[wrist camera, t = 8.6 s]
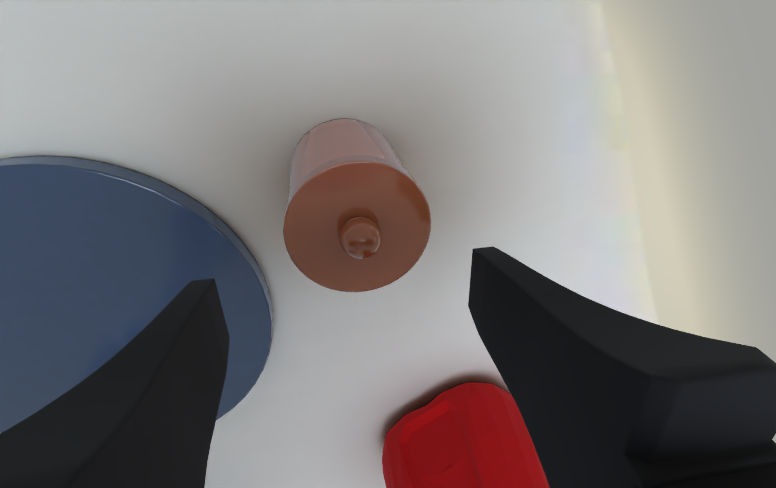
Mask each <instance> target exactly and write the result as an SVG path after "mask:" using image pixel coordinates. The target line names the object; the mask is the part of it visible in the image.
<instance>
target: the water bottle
mask: <svg viewBox="0 0 776 488" xmlns="http://www.w3.org/2000/svg"><path fill="white" fill-rule="evenodd" d="M382 465H383V474H384V479H385V483H386V487H387V488H550V487H549V484H548V481H547V478H546V476H545V473H544V470H543V468H542V465H541V463H540V460H539V457H538V455H537V452H536V450H535V447H534V445H533V442H532V439H531V437H530V435H529V432H528V430H527V427H526V425H525V423H524V420H523V418H522V415H521V413H520V411H519V408H518V406H517V404H516V402H515V400H514V398H513V397H512V396H511V394H510V393H509V392H507V391H505V390H503V389H501V388H499V387H497V386H495V385H494V384H491V383H472V382H471V383H463V384H460V385H458V386H456V387H453V388H451V389H449V390H446V391H444V392H442V393H440V394H439V395H438V396H437V397H436V398H435V399H434V400H432V401H431V402H430V403H429V404H428V405H426V406H423V407H421V408H419V409H417V410H415V411H412V412H410V413H408V414H406V415H404V416H403V417H402V418H401V419H400V420H399V421H398V422H397V423H396V424H395V425H394V426H393V427H392V428H391V429H390V430H389V431H388V433H387V434H386V437H385V442H384V447H383V456H382Z"/></svg>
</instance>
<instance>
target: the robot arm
mask: <svg viewBox="0 0 776 488" xmlns="http://www.w3.org/2000/svg"><path fill="white" fill-rule="evenodd" d="M468 306H469V309H470V312H471V315H472V318H473V320H474V323H475V326H476V328H477V331H478V333H479V335H480V337H481V339H482V341H483V343H484V345H485V347H486V349H487V351H488V352H489V354H490V356H491V358H492V360H493V362H494V363H495V365H496V367H497V369H498V371H499V373H500V374H501V376H502V378H503V380H504V382H505V383H506V385H507V387H508V389H509V391H510V393H511V394H512V396H513V398H514V400H515V402H516V404H517V406H518V408H519V411H520V413H521V415H522V418H523V420H524V423H525V425H526V427H527V430H528V432H529V435H530V437H531V439H532V442H533V445H534V447H535V450H536V452H537V455H538V457H539V460H540V463H541V465H542V468H543V470H544V473H545V476H546V478H547V481H548V484H549V487H550V488H776V443H775V442H774V441H773V440H772V439H773V437H774V435H775V434H776V363H775V362H774V361H772V360H771V359H770V358H769V357H768V356H766V355H765V354H764V353H763V352H761V351H760V350H759V349H757V348H756V347H751V346H746V345H741V344H736V343H730V342H726V341H721V340H716V339H710V338H706V337H702V336H697V335H694V334H690V333H686V332H682V331H678V330H674V329H670V328H667V327H664V326H660V325H657V324H654V323H651V322H648V321H645V320H642V319H639V318H636V317H633V316H630V315H627V314H624V313H621V312H619V311H616V310H614V309H611V308H609V307H606V306H604V305H602V304H599V303H597V302H594V301H592V300H590V299H588V298H585V297H583V296H581V295H579V294H577V293H575V292H573V291H571V290H569V289H567V288H565V287H563V286H561V285H559V284H558V283H556V282H554V281H552V280H550V279H548V278H547V277H545V276H543V275H541V274H540V273H538V272H536V271H534V270H533V269H531V268H529V267H528V266H526V265H524V264H523V263H521V262H519V261H518V260H516V259H514V258H513V257H511V256H509V255H508V254H506V253H504V252H502V251H501V250H499V249H497V248H495V247H486V248H477V249H473V253H472V265H471V278H470V291H469V303H468ZM229 340H230V336H229V332H228V328H227V324H226V321H225V317H224V313H223V309H222V305H221V301H220V298H219V294H218V290H217V286H216V282H215V278H212V279H203V280H194V281H190V282H189V283H188V284H187V285H186V286H185V287H184V288H183V289H182V290H181V291H180V292H179V293H178V294H177V295H176V296H175V297H174V299H173V300H172V301H171V302H170V303H169V304H168V305H167V306H166V307H165V308H164V309H163V310H162V311H161V312H160V313H159V314H158V315H157V316H156V317H155V318H154V319H153V320H152V321H151V322H150V323H149V324H148V325H147V326H146V327H145V328H144V329H143V330H142V331H141V332H140V333H139V334H138V335H136V336H135V337H134V338H133V339H132V340H131V341H130V342H129V343H128V344H127V345H126V346H124V347H123V348H122V349H121V350H120V351H119V352H118V353H117V354H116V355H114V356H113V357H112V358H111V359H110V360H108V361H107V362H106V363H105V364H104V365H102V366H101V367H100V368H98V369H97V370H96V371H95V372H93V373H92V374H91V375H89V376H88V377H87V378H85V379H84V380H83V381H81V382H80V383H79V384H77V385H76V386H75V387H73V388H72V389H70V390H69V391H67V392H66V393H64V394H63V395H61V396H60V397H58V398H57V399H55V400H54V401H52V402H51V403H49V404H48V405H46V406H45V407H43V408H42V409H40V410H39V411H37V412H36V413H34V414H32V415H31V416H29V417H28V418H26V419H24V420H23V421H21V422H19V423H18V424H16V425H14V426H13V427H11V428H9V429H7V430H6V431H4V432H2V433H0V488H204V485H205V477H206V468H207V460H208V455H209V449H210V444H211V439H212V435H213V431H214V426H215V422H216V417H217V413H218V409H219V404H220V400H221V395H222V391H223V386H224V382H225V377H226V372H227V365H228V354H229Z"/></svg>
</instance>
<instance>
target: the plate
mask: <svg viewBox="0 0 776 488" xmlns="http://www.w3.org/2000/svg"><path fill="white" fill-rule="evenodd" d="M212 278H215V282H216V286H217V290H218V294H219V298H220V301H221V305H222V309H223V313H224V317H225V321H226V324H227V328H228V332H229V336H230V340H229V354H228V365H227V372H226V377H225V382H224V386H223V391H222V395H221V400H220V404H219V409H218V413H217V417H216V420H217V419H219V418H220V417H222V416H223V415H225V414H226V413H227V412H229V411H230V410H231V409H233V408H234V407H235V406H236V405H237V404H238V403H239V402H240V401H241V400H242V399H243V398H244V397H245V396H246V395H247V394H248V392H249V391H250V390H251V388H252V387H253V386H254V385H255V383H256V382H257V380H258V378H259V376H260V374H261V373H262V371H263V369H264V366H265V364H266V361H267V358H268V355H269V351H270V345H271V339H272V323H273V311H272V305H271V299H270V293H269V290H268V287H267V284H266V281H265V279H264V276H263V274H262V272H261V270H260V268H259V266H258V264H257V262H256V260H255V259H254V257H253V256H252V254H251V253H250V252H249V250H248V249H247V247H246V246H245V245H244V243H243V242H242V241H241V240H240V239H239V237H238V236H237V235H236V234H235V233H234V232H233V231H232V230H231V229H230V228H229V227H228V226H227V225H226V224H225V223H224V222H223V221H222V220H220V219H219V218H218V217H217V216H216V215H215V214H213V213H212V212H211V211H210V210H209V209H207V208H206V207H204V206H203V205H201V204H200V203H198V202H197V201H195V200H194V199H192V198H191V197H189V196H188V195H186V194H184V193H183V192H181V191H179V190H177V189H175V188H173V187H171V186H169V185H167V184H165V183H163V182H161V181H159V180H156V179H154V178H151V177H149V176H146V175H143V174H141V173H138V172H136V171H133V170H129V169H126V168H122V167H118V166H115V165H111V164H107V163H103V162H97V161H91V160H85V159H79V158H70V157H53V156H34V157H16V158H9V159H3V160H0V433H2V432H4V431H6V430H7V429H9V428H11V427H13V426H14V425H16V424H18V423H19V422H21V421H23V420H24V419H26V418H28V417H29V416H31V415H32V414H34V413H36V412H37V411H39V410H40V409H42V408H43V407H45V406H46V405H48V404H49V403H51V402H52V401H54V400H55V399H57V398H58V397H60V396H61V395H63V394H64V393H66V392H67V391H69V390H70V389H72V388H73V387H75V386H76V385H77V384H79V383H80V382H81V381H83V380H84V379H85V378H87V377H88V376H89V375H91V374H92V373H93V372H95V371H96V370H97V369H98V368H100V367H101V366H102V365H104V364H105V363H106V362H107V361H108V360H110V359H111V358H112V357H113V356H114V355H116V354H117V353H118V352H119V351H120V350H121V349H122V348H123V347H124V346H126V345H127V344H128V343H129V342H130V341H131V340H132V339H133V338H134V337H135V336H136V335H138V334H139V333H140V332H141V331H142V330H143V329H144V328H145V327H146V326H147V325H148V324H149V323H150V322H151V321H152V320H153V319H154V318H155V317H156V316H157V315H158V314H159V313H160V312H161V311H162V310H163V309H164V308H165V307H166V306H167V305H168V304H169V303H170V302H171V301H172V300H173V299H174V297H175V296H176V295H177V294H178V293H179V292H180V291H181V290H182V289H183V288H184V287H185V286H186V285H187V284H188V283H189V282H190V281H194V280H203V279H212Z"/></svg>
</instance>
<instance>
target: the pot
mask: <svg viewBox="0 0 776 488" xmlns="http://www.w3.org/2000/svg"><path fill="white" fill-rule="evenodd" d="M430 230H431V216H430V210H429V206H428V203H427V200H426V198H425V196H424V194H423V192H422V191H421V189H420V187H419V186H418V184H417V183H416V181H415V180H414V179H413V178H412V176H410V175H409V174H408V173H407V172H406V171H405V170H404V168H403V166H402V164H401V163H400V161H399V159H398V157H397V155H396V154H395V152H394V150H393V148H392V147H391V145H390V143H389V142H388V140H387V139H386V138H385V136H384V135H383V134H382V133H381V132H379V131H378V130H377V129H375V128H374V127H373V126H371V125H369V124H367V123H364V122H361V121H358V120H353V119H336V120H331V121H328V122H325V123H322V124H320V125H318V126H316V127H315V128H313V129H312V130H310V131H309V132H308V133H307V134H306V135H305V136H304V137H303V138H302V139H301V140H300V142H299V143H298V145H297V147H296V149H295V151H294V153H293V156H292V160H291V168H290V195H289V200H288V203H287V206H286V209H285V214H284V229H283V234H284V241H285V245H286V248H287V251H288V253H289V255H290V258H291V259H292V261H293V262H294V264H295V265H296V266H297V268H298V269H299V270H300V271H301V272H302V273H303V274H304V275H306V276H307V277H308V278H309V279H311V280H312V281H314V282H316V283H318V284H320V285H322V286H324V287H327V288H330V289H333V290H338V291H345V292H362V291H369V290H373V289H377V288H380V287H383V286H385V285H388V284H390V283H392V282H394V281H395V280H397V279H399V278H400V277H401V276H403V275H404V274H405V273H407V272H408V271H409V270H410V269H411V268H412V267H413V266H414V265H415V263H416V262H417V261H418V260H419V258H420V257H421V255H422V254H423V251H424V249H425V247H426V245H427V242H428V239H429V235H430Z"/></svg>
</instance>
